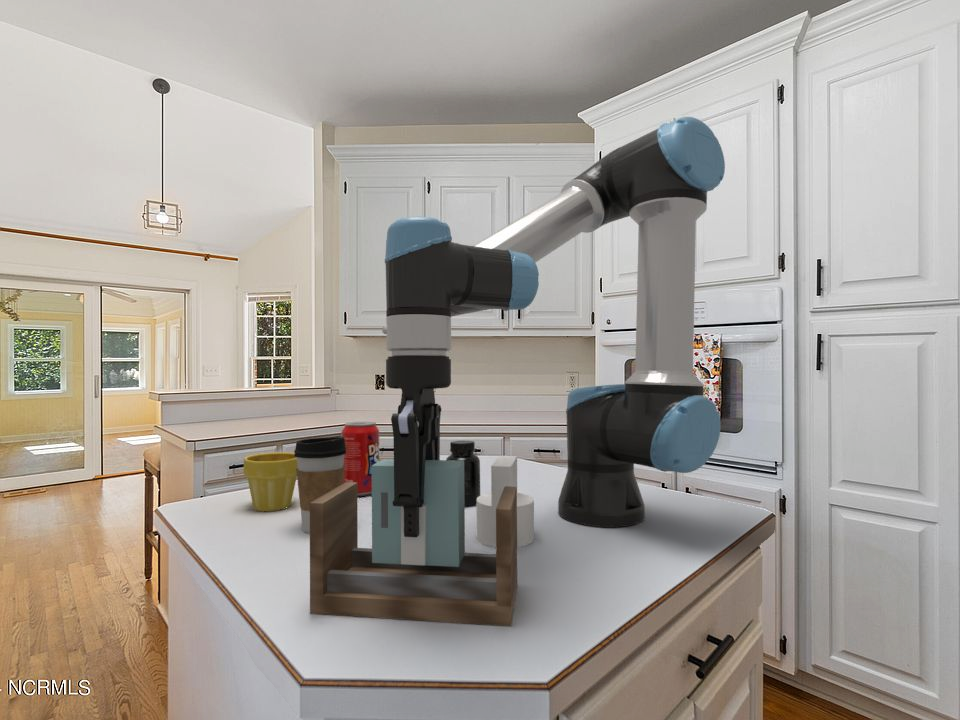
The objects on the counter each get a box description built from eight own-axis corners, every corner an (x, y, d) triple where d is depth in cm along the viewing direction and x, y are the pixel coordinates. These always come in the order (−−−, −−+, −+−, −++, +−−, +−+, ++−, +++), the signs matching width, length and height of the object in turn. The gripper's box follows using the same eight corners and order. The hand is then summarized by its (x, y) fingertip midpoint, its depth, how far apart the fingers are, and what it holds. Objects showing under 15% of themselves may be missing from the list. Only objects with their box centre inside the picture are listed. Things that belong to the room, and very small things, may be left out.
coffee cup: (332, 537, 80) (331, 442, 80) (283, 534, 81) (283, 441, 81) (355, 521, 88) (355, 435, 88) (311, 519, 90) (310, 434, 90)
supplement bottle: (487, 501, 101) (486, 440, 101) (467, 509, 95) (467, 445, 95) (458, 496, 104) (458, 438, 104) (438, 504, 98) (438, 442, 99)
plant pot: (312, 503, 100) (312, 453, 100) (271, 517, 91) (271, 462, 91) (274, 497, 104) (274, 450, 105) (231, 510, 95) (231, 458, 95)
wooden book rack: (517, 584, 62) (516, 486, 62) (511, 626, 52) (510, 509, 52) (346, 575, 65) (346, 482, 65) (310, 613, 55) (309, 503, 55)
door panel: (464, 553, 60) (464, 460, 60) (458, 566, 56) (458, 467, 56) (383, 550, 61) (383, 459, 62) (372, 562, 57) (371, 465, 57)
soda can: (334, 493, 108) (334, 422, 108) (367, 487, 113) (367, 419, 113) (353, 500, 102) (352, 425, 102) (386, 493, 107) (386, 422, 108)
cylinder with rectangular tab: (531, 549, 74) (531, 467, 74) (471, 545, 76) (471, 465, 76) (535, 529, 83) (535, 456, 83) (481, 527, 85) (481, 455, 85)
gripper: (407, 356, 68) (408, 530, 68) (360, 352, 51) (361, 585, 51) (462, 355, 67) (463, 533, 67) (433, 351, 50) (434, 589, 50)
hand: (419, 555), depth 59 cm, fingers closed on door panel, 4 cm apart
